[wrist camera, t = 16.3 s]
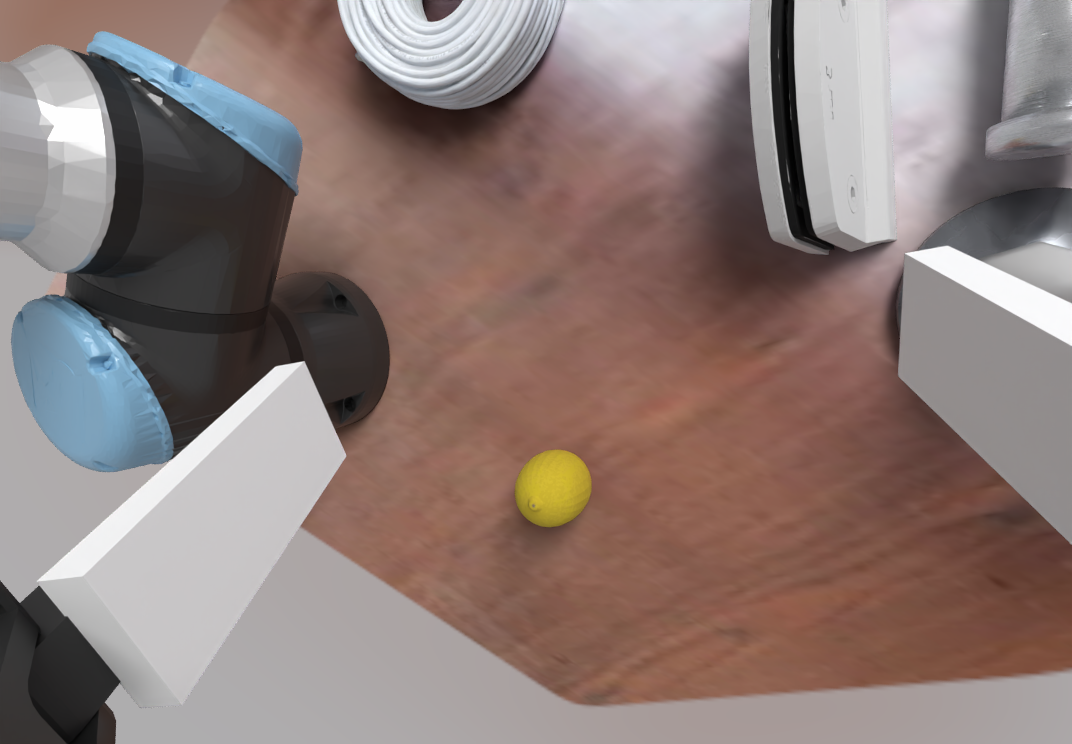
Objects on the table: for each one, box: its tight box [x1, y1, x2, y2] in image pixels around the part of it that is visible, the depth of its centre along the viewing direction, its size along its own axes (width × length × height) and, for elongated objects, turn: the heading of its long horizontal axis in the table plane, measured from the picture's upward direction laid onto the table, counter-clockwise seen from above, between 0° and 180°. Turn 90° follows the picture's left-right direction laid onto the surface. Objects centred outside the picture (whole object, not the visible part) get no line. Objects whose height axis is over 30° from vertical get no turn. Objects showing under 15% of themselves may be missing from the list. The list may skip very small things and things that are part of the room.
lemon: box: [515, 450, 592, 527], centre depth 44 cm, size 6×6×8 cm
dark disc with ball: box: [896, 0, 1072, 336], centre depth 30 cm, size 13×26×6 cm, turn 2°
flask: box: [979, 241, 1072, 303], centre depth 29 cm, size 7×7×10 cm
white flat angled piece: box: [749, 0, 897, 255], centre depth 33 cm, size 17×5×10 cm, turn 7°
